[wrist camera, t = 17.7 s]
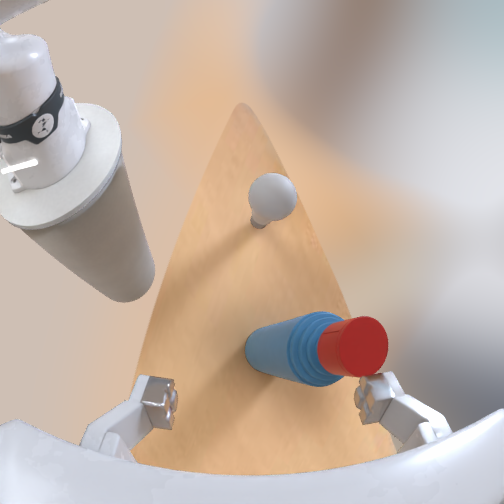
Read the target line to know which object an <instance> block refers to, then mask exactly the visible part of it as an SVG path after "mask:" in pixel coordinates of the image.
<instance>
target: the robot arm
mask: <svg viewBox="0 0 504 504" xmlns="http://www.w3.org/2000/svg"><path fill="white" fill-rule="evenodd" d="M47 1H49V0H0V25H1V24H3V23H4V22H6V21H8V20H10V19H12V18H14V17H16V16H17V15H19V14H21V13H23V12H25V11H27V10H29V9H31V8H34V7H36V6H38V5H40V4H42V3H45V2H47ZM90 125H91V124H90V122H89V120H88V119H86V118H83V117H81V116H80V115H79V112H78V110H77V107H76V105H75V102H74V100H73V98H69V97H67V96H64V94H63V88H62V85H61V83H60V82H59V79H58V78H57V77H56V76H55V73H54V70H53V66H52V62H51V58H50V54H49V50H48V46H47V43H46V42H45V40H43V39H42V38H40V37H39V36H36V35H32V34H23V35H11V34H8V33H5V32H4V31H3V30H1V28H0V157H1V159H2V160H3V159H4V163H5V167H6V168H5V169H2V173H3V174H4V173H7V175H8V179H9V183H10V186H11V189H12V191H13V192H14V193H18V192H21V191H23V190H26V189H41V188H45V187H48V186H50V185H53V184H54V183H56V182H58V181H59V180H61V179H62V178H64V177H65V176H66V175H67V174H68V173H69V172H70V171H71V170H72V169H73V168H74V167H75V166H76V164H77V163H78V162H79V160H80V158H81V156H82V154H83V152H84V149H85V143H86V134H87V132H88V130H89V128H90ZM359 384H360V386H358V387H357V388H356V390H355V393H354V401H355V405H356V407H357V408H358V409H360V413H359V416H360V419H361V422H362V424H363V425H365V424H371V423H377V422H379V423H380V424H381V425H382V426H383V427H384V428H385V429H387V430H388V431H389V432H390V433H391V434H392V435H394V436H395V437H396V438H397V439H399V441H401V442H402V443H403V446H402V447H401V448H400V449H399V450H398V452H397V454H395V455H392V456H388V457H385V458H381V459H377V460H373V461H369V462H365V463H360V464H356V465H351V466H346V467H340V468H334V469H328V470H321V471H313V472H305V473H294V474H280V475H220V474H206V473H196V472H187V471H179V470H172V469H166V468H160V467H155V466H150V465H145V464H140V463H137V461H136V460H135V458H134V457H133V455H132V454H131V452H130V450H131V449H132V448H133V447H134V446H136V445H137V444H138V443H139V442H140V441H141V440H142V439H143V438H144V437H145V436H146V435H147V434H148V433H149V432H150V431H151V430H152V429H153V428H160V429H169V430H172V427H173V423H174V419H175V418H174V415H173V413H174V412H175V411H176V410H177V404H178V396H177V391H176V390H175V389H174V386H175V383H174V380H173V379H168V378H161V377H154V376H147V375H141V374H140V375H139V376H138V378H137V380H136V383H135V385H134V387H133V390H132V392H131V395H130V397H129V400H128V401H126V400H125V401H124V402H122V403H120V404H119V405H118V406H116V407H115V408H113V409H112V410H110V411H108V412H107V413H105V414H104V415H102V416H101V417H99V418H98V419H96V420H95V421H93V422H92V423H90V424H89V425H88V426H87V428H86V431H85V433H84V435H83V438H82V440H81V443H80V445H79V446H78V445H76V444H72V443H70V442H68V441H65V440H63V439H60V438H58V437H55V436H53V435H51V434H49V433H46V432H44V431H42V430H40V429H38V428H36V427H34V426H32V425H30V424H28V423H26V422H24V421H22V420H19V419H15V420H11V421H9V422H6V423H4V424H1V425H0V504H504V409H499V410H497V411H495V412H493V413H491V414H490V415H488V416H486V417H484V418H483V419H480V420H479V421H477V422H475V423H473V424H471V425H469V426H467V427H465V428H463V429H461V430H459V431H456V432H454V433H453V432H452V431H451V429H450V427H449V425H448V423H447V421H446V420H445V418H444V416H443V415H441V414H440V413H438V412H437V411H435V410H433V409H431V408H430V407H428V406H426V405H425V404H423V403H421V402H420V401H418V400H416V399H415V398H413V397H411V396H410V395H405V393H404V391H403V390H402V388H401V386H400V384H399V382H398V381H397V379H396V377H395V375H394V373H393V372H385V373H378V374H372V375H366V376H362V377H361V378H360V380H359Z"/></svg>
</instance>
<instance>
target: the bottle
mask: <svg viewBox="0 0 504 504" xmlns="http://www.w3.org/2000/svg"><path fill="white" fill-rule="evenodd" d="M340 321H344V320H343V319H342V318H341V317H339V316H337V315H335V314H332V313H329V312H314V313H311V314H307V315H304V316H301V317H298V318H294V319H291V320H287V321H284V322H281V323H277V324H274V325H270V326H266V327H263V328H260V329H258V330H256V331H254V332H253V333H252V334H251V335H250V336H249V338H248V340H247V342H246V346H245V355H246V358H247V360H248V362H249V364H250V365H251V366H252V367H253V368H254V369H256V370H258V371H260V372H263V373H267V374H270V375H273V376H277V377H280V378H284V379H287V380H291V381H295V382H298V383H302V384H306V385H310V386H315V387H323V386H328V385H331V384H333V383H335V382H337V381H338V380H340V379H341V378H343V377H344V376H342V375H334V374H331V373H329V372H328V371H326V370H325V369H324V368H323V366H322V365H321V363H320V361H319V358H318V353H317V346H318V341H319V338H320V336H321V334H322V333H323V331H324V330H325V329H326V328H327V327H328V326H329V325H331V324H333V323H336V322H340Z"/></svg>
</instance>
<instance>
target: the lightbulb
mask: <svg viewBox="0 0 504 504" xmlns="http://www.w3.org/2000/svg"><path fill="white" fill-rule="evenodd" d="M296 201H297V192H296V189H295V187H294V185H293V183H292V182H291V181H290V180H289V179H288V178H286V177H285V176H283V175H281V174H277V173H268V174H264V175H262V176H260V177H259V178H257V179H256V180H255V181H254V182H253V183H252V185H251V187H250V190H249V204H250V206H251V208H252V216H251V224H252V225H253V226H254V227H255V228H258V229H261V228H264V227H265V226H266V225H267V224H268V223H270V222H271V221H278V220H281V219H283V218H285V217H287V216H288V215H289V214H291V212H292V211H293V209H294V208H295V205H296Z"/></svg>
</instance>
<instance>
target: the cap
mask: <svg viewBox="0 0 504 504" xmlns="http://www.w3.org/2000/svg"><path fill="white" fill-rule="evenodd" d="M387 352H388V338H387V334H386V332H385V330H384V328H383V326H382V325H381V324H380V323H379V322H378V321H377V320H376V319H374V318H371V317H368V316H362V317H357V318H353V319H349V320H344V321H340V322H336V323H333V324H331V325H329V326H328V327H327V328H326V329H325V330H324V331H323V333H322V334H321V336H320V338H319V341H318V346H317V353H318V358H319V361H320V363H321V365H322V366H323V368H324V369H325V370H326V371H328V372H329V373H331V374H334V375H342V376H351V377H362V376H366V375H372V374H374V373H376V372H377V371H378V370H379V369H380V368H381V366H382V365H383V363H384V362H385V359H386V356H387Z"/></svg>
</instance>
